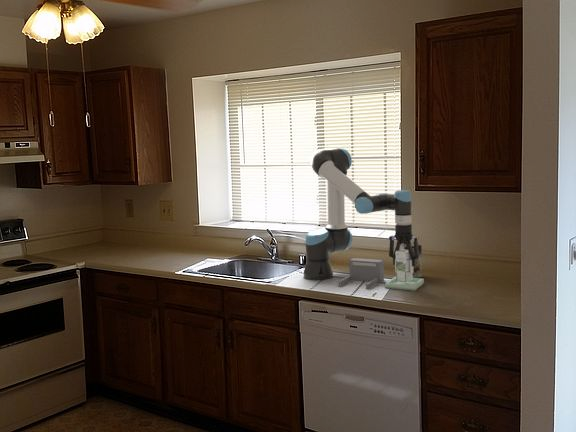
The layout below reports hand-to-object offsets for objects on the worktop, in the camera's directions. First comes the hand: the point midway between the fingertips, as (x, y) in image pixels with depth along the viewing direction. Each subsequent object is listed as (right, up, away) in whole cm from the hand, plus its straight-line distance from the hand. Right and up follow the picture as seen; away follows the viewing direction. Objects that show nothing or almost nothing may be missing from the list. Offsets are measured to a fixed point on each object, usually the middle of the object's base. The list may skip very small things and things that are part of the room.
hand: (404, 272), depth 284 cm
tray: (0, -6, +1) cm, 6 cm away
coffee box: (+7, -4, +18) cm, 19 cm away
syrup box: (0, -4, 0) cm, 4 cm away
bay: (-19, -6, +9) cm, 22 cm away
